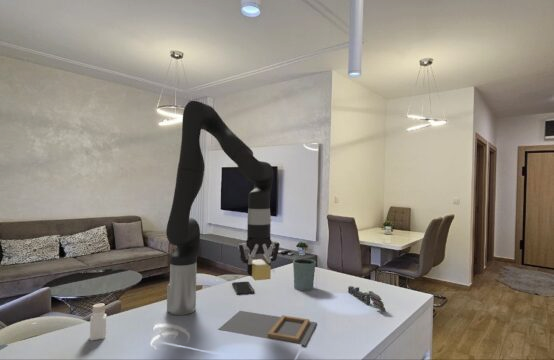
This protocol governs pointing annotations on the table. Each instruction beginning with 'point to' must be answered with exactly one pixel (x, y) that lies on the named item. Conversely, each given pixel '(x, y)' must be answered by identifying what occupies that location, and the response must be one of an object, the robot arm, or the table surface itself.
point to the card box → (260, 270)
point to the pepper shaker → (98, 322)
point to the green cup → (304, 274)
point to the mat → (271, 327)
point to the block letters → (367, 297)
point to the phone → (243, 288)
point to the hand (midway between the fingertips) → (258, 274)
